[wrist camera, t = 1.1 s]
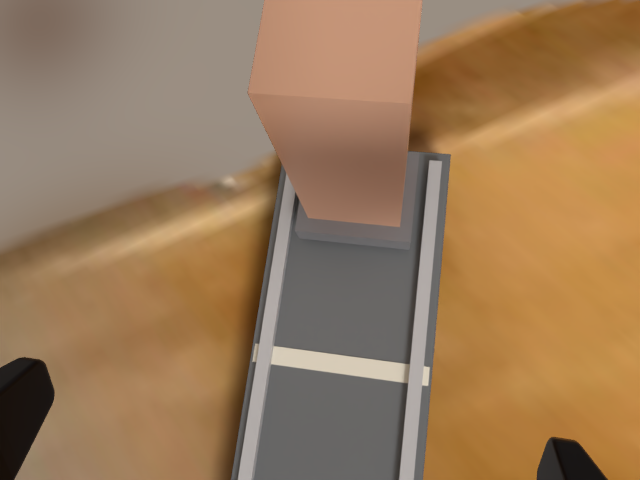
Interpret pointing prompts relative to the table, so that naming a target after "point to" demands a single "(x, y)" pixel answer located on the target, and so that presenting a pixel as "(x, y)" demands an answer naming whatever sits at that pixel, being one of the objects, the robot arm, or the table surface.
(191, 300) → the table surface
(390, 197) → the fader
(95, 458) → the table surface
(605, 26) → the table surface
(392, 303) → the grey slider rail base
